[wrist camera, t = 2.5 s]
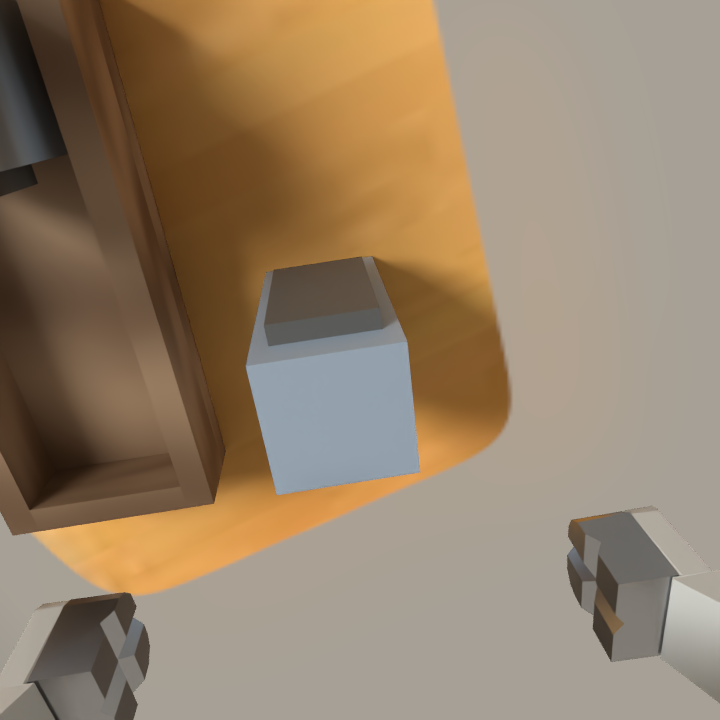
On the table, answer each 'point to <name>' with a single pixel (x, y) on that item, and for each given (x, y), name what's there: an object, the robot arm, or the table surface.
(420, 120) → the table surface
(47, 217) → the brown wooden open box
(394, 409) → the blue grey rectangular block
